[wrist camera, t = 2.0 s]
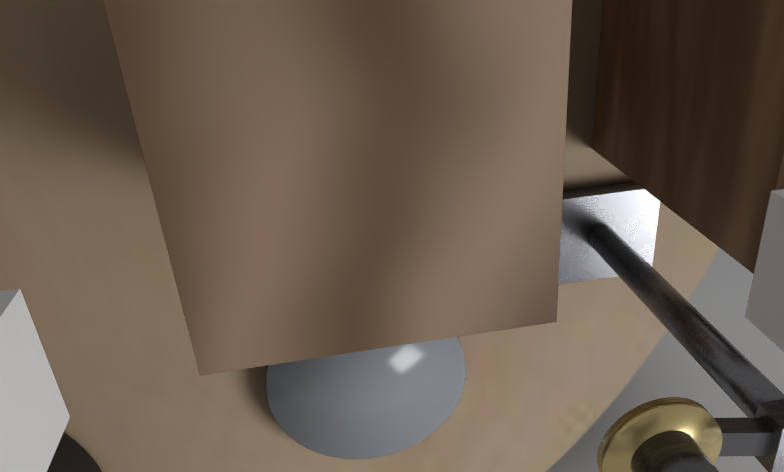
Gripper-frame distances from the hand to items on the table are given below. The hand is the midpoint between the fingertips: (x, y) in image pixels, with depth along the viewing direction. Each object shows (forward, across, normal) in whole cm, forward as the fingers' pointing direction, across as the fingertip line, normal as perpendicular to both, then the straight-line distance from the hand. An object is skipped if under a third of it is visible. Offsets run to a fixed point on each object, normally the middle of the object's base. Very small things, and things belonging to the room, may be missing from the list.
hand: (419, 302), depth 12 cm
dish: (+20, 0, -17) cm, 26 cm away
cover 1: (+20, 0, 0) cm, 20 cm away
